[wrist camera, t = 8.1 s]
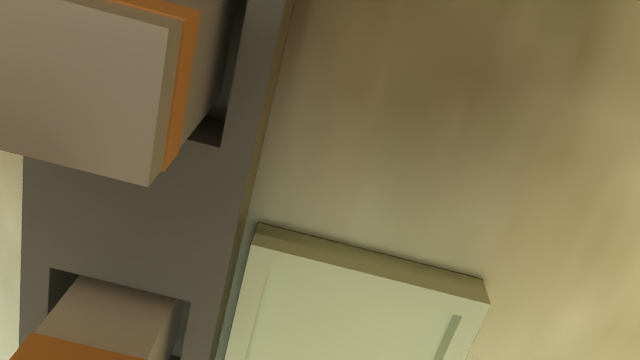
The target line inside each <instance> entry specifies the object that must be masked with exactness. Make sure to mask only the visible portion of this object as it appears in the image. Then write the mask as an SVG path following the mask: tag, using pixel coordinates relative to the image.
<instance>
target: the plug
mask: <svg viewBox="0 0 640 360" xmlns="http://www.w3.org/2000/svg"><path fill="white" fill-rule="evenodd" d="M183 303H184V300H180V299H176V298H172V297H168V296H164V295H160V294H156V293H152V292H148V291H144V290H140V289H136V288H132V287H128V286H123V285H119V284H115V283H111V282H107V281H103V280H99V279H95V278H91V277H87V276H83V275H79V277H78V278H77V279H76V280H75V282H74V283H73V284H72V285H71V287H70V288H69V289H68V290H67V292H66V293H65V294H64V296H63V297H62V298H61V299H60V301H59V302H58V303H57V304H56V306H55V307H54V308H53V309H52V311H51V312H50V313H49V314H48V316H47V317H46V318H45V319H44V321H43V322H42V323H41V324H40V326H39V327H38V328H37V329H36V331H35V332H34V333H33V332H31V333H30V335H29V336H28V337H27V338H26V340H25V341H24V342H23V343H22V345H21V346H20V347H19V348H18V350H17V351H16V352H15V353H14V355H13V356H12V357H11V358H10V360H169V358H170V356H171V354H172V351H173V349H174V347H175V345H176V342H177V336H178V331H179V325H180V319H181V314H182V308H183Z"/></svg>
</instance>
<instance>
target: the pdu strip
mask: <svg viewBox="0 0 640 360" xmlns="http://www.w3.org/2000/svg"><path fill="white" fill-rule="evenodd" d="M294 1H295V0H0V150H3V151H7V152H11V153H15V154H19V155H23V156H24V157H23V199H22V241H21V283H20V325H19V347H20V346H21V345H22V343H23V342H24V341H25V340H26V338H27V337H28V336H29V335H30V333H31V332H33V333H34V332H35V331H36V329H37V328H38V327H39V326H40V324H41V323H42V322H43V321H44V319H45V318H46V317H47V316H48V314H49V313H50V312H51V311H52V309H53V308H54V307H55V306H56V304H57V303H58V302H59V301H60V299H61V298H62V297H63V296H64V294H65V293H66V292H67V290H68V289H69V288H70V287H71V285H72V284H73V283H74V282H75V280H76V279H77V278H78V277H79V275H83V276H87V277H91V278H95V279H99V280H103V281H107V282H111V283H115V284H119V285H123V286H128V287H132V288H136V289H140V290H144V291H148V292H152V293H156V294H160V295H164V296H168V297H172V298H176V299H180V300H184V303H183V308H182V314H181V319H180V325H179V331H178V336H177V342H176V345H175V347H174V349H173V351H172V354H171V356H170V358H169V360H215V356H216V351H217V347H218V342H219V338H220V333H221V329H222V324H223V320H224V315H225V311H226V306H227V302H228V297H229V293H230V288H231V284H232V279H233V275H234V270H235V266H236V261H237V257H238V252H239V248H240V243H241V239H242V234H243V230H244V225H245V221H246V216H247V212H248V208H249V203H250V199H251V194H252V190H253V185H254V181H255V176H256V172H257V167H258V163H259V158H260V154H261V149H262V145H263V140H264V136H265V131H266V127H267V122H268V118H269V113H270V109H271V104H272V100H273V95H274V91H275V86H276V82H277V77H278V73H279V68H280V64H281V60H282V55H283V51H284V46H285V42H286V37H287V33H288V28H289V24H290V19H291V15H292V10H293V6H294Z"/></svg>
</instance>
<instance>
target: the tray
mask: <svg viewBox="0 0 640 360" xmlns="http://www.w3.org/2000/svg"><path fill="white" fill-rule="evenodd" d="M490 306H491V303H490V300H489V298H488V295H487V292H486V289H485V286H484V283H483V280H482V279H479V278H475V277H471V276H467V275H463V274H459V273H455V272H451V271H447V270H443V269H439V268H436V267H432V266H428V265H424V264H420V263H416V262H412V261H408V260H404V259H400V258H396V257H392V256H388V255H384V254H380V253H376V252H372V251H368V250H364V249H360V248H357V247H353V246H349V245H345V244H341V243H337V242H333V241H329V240H325V239H321V238H317V237H313V236H309V235H305V234H301V233H297V232H293V231H289V230H285V229H281V228H278V227H274V226H270V225H266V224H262V223H258V226H257V229H256V231H255V234H254V237H253V240H252V243H251V247H250V251H249V255H248V260H247V264H246V268H245V273H244V277H243V281H242V285H241V290H240V294H239V298H238V303H237V307H236V311H235V316H234V320H233V324H232V328H231V333H230V337H229V341H228V346H227V350H226V354H225V359H224V360H465V358H466V356H467V354H468V352H469V350H470V348H471V345H472V343H473V341H474V339H475V337H476V335H477V333H478V331H479V329H480V327H481V324H482V322H483V320H484V318H485V316H486V314H487V312H488V310H489V308H490Z"/></svg>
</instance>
